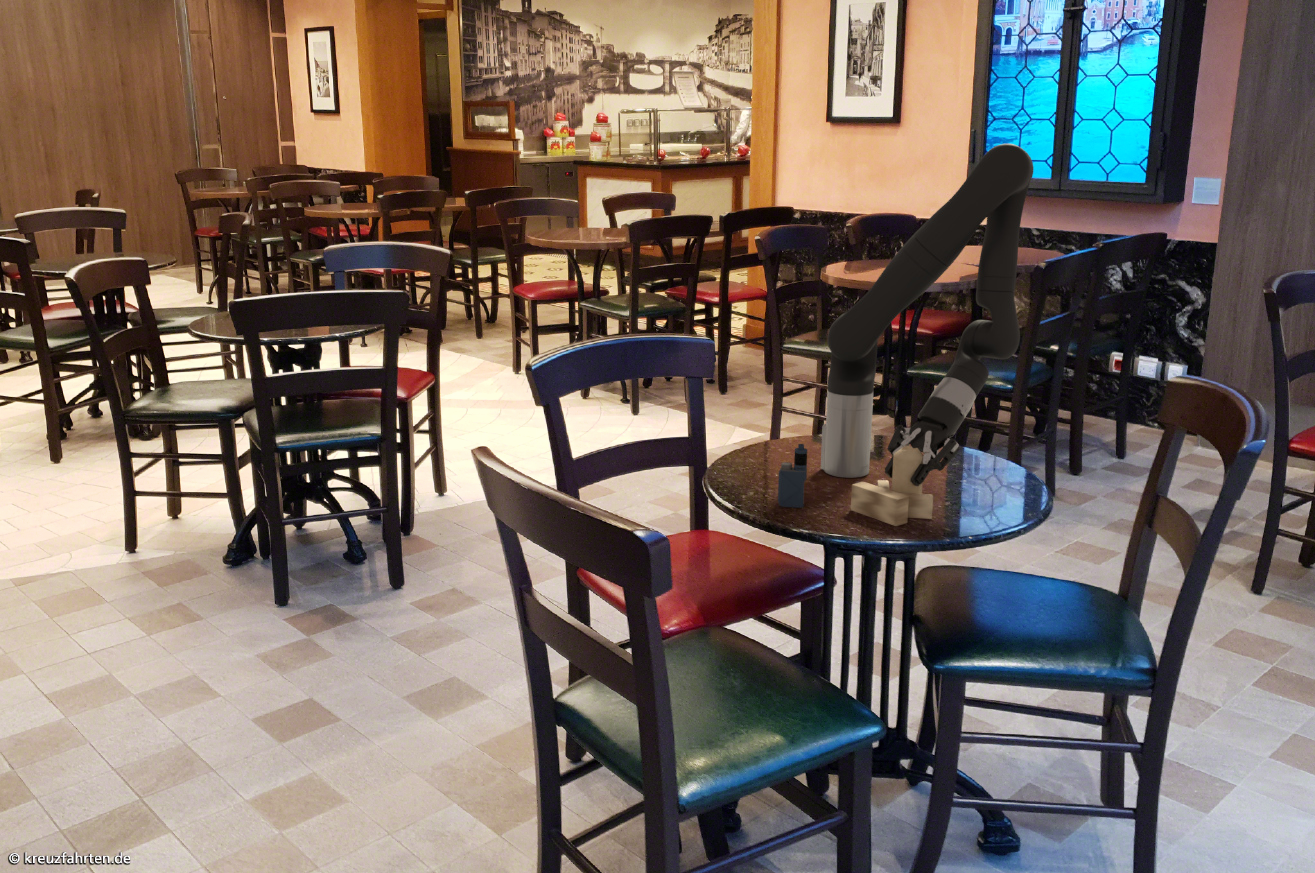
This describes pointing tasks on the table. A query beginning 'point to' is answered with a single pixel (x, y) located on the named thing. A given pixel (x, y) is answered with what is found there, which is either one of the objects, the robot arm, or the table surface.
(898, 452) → the candle
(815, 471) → the table surface
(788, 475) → the vaping device
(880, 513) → the letter k block
